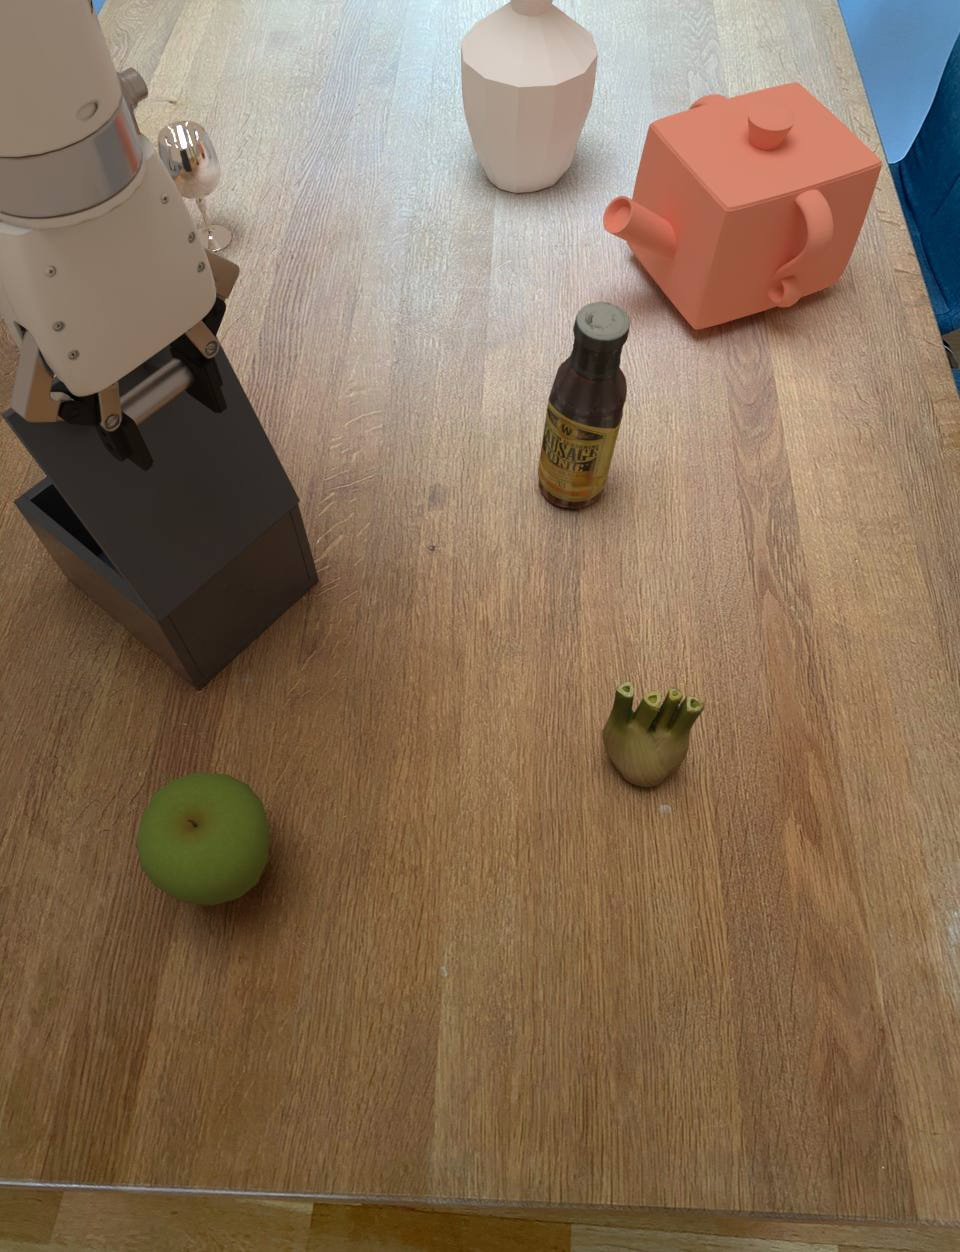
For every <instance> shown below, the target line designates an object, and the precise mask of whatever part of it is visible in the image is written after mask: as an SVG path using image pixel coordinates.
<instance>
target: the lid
mask: <svg viewBox="0 0 960 1252" xmlns="http://www.w3.org/2000/svg"><path fill="white" fill-rule="evenodd" d="M216 339H217V340H218V342H219V345H220V347H219V351H218V353H217V354H216V355H215V356H214V358H215V361H216V364H217V366H218V369H219V372H220V375H221V378H222V381H223V385H222V386H221V390H222V393H223V396H224V399H225V402H226V405H227V409H226V410H224V411H223V412H222V413H215V412H213V411H212V410H210V409H209V408H208V407H206V406H205V405H203V404H202V403H200V402H199V401H198V400H196V399H195V398H193V397H192V396H191V395H189V394H188V393H187V392H186V389H187V388H189V387H190V386H191V385H193V384H194V383H195V381H196V380H195V376H194V374H193V372H192V371H191V369H190V368H189V366H188V365H187V364H186V363H185V362H184V361H183V360H181V359H180V358H178V357H174V358H173V357H172V355H171V352H170V348H171V346H170V344H168V345H167V346H166V347H164V348H163V349H162V350H160V351H159V352H157V353H156V354H155V355H153V356H152V357H150V358H149V359H148V360H146V361H145V362H143V363H142V364H141V365H139V366H138V367H136V368H135V369H134V370H132V371H131V372H129V373H128V374H126V375H125V376H124V377H122V378H121V379H119V380H118V387H119V395H120V404H121V411H123V412H124V413H125V414H127V415H128V416H129V417H131V418H132V419H133V420H134V421H135V423H136V425H137V427H138V429H139V431H140V433H141V435H142V438H143V440H144V442H145V444H146V446H147V448H148V450H149V452H150V454H151V457H152V459H153V461H154V463H152V464H153V466H152V467H151V468H150V469H149V470H147V471H144V470H142V469H141V468H140V467H138V466H137V465H136V464H135V463H133V462H132V461H131V460H129V459H128V458H127V459H125V460H124V461H123V462H121V461H119V460H118V459H116V458H115V457H114V456H113V455H112V454H111V453H110V452H109V451H108V450H107V449H106V447H105V446H104V444H103V442H102V440H101V438H100V436H99V434H98V432H97V431H96V429H95V427H94V426H89V425H78V424H69V423H67V422H66V421H57V422H34V423H31V422H28V421H26V420H25V419H24V418H22V417H21V416H20V415H19V414H17V413H16V412H15V411H14V410H12V409H11V407H10V408H8V409H7V410H5V411H3V412H2V413H0V415H1V418H2V419H3V420H4V421H5V423H6V424H7V426H8V427H9V428H10V429H11V431H12V432H13V433H14V434H15V436H16V437H17V438H18V440H19V441H20V443H21V444H22V445H23V447H24V448H25V449H26V450H27V452H28V453H29V454H30V456H31V457H32V458H33V460H34V461H35V462H36V464H37V465H38V467H39V468H40V469H41V471H42V472H43V473H44V475H45V477H48V478H49V480H50V481H51V482H52V484H53V485H54V486H55V488H56V489H57V490H58V492H59V493H60V494H61V496H62V497H63V498H64V500H65V501H66V502H67V504H68V505H69V506H70V508H71V509H72V510H73V512H74V513H75V514H76V516H77V517H78V518H79V520H80V521H81V522H82V524H83V525H84V526H85V528H86V529H87V530H88V532H89V533H90V534H91V536H92V537H93V538H94V540H95V541H96V542H97V544H98V545H99V546H100V548H101V549H102V550H103V552H104V553H105V554H106V556H107V557H108V558H109V560H110V561H111V562H112V564H113V565H114V566H115V568H116V569H117V570H118V572H119V573H120V574H121V576H122V577H123V578H124V580H125V581H126V582H127V584H128V585H129V586H130V588H131V589H132V590H133V592H134V593H135V594H136V596H137V597H138V598H139V600H140V601H141V602H142V604H143V605H144V606H145V608H146V609H147V610H148V612H149V613H150V614H151V616H152V617H153V618H154V619H155V620H157V621H158V622H160V621H161V620H163V619H164V618H165V617H166V616H167V615H168V614H170V613H171V612H172V611H173V610H174V609H175V608H177V607H178V606H179V605H180V604H181V603H182V602H183V601H185V600H186V599H187V598H188V597H189V596H190V595H192V594H193V593H194V592H195V591H196V590H197V589H199V588H200V587H201V586H202V585H203V584H204V583H206V582H207V581H208V580H209V579H210V578H211V577H213V576H214V575H215V574H216V573H217V572H218V571H219V570H221V569H222V568H223V567H224V566H225V565H226V564H228V563H229V562H230V561H231V560H232V559H233V558H235V557H236V556H237V555H238V554H239V553H240V552H242V551H243V550H244V549H245V548H246V547H247V546H249V545H250V544H251V543H252V542H253V541H254V540H256V539H257V538H258V537H259V536H260V535H261V534H262V533H264V532H265V531H266V530H267V529H268V528H269V527H271V526H272V525H273V524H274V523H275V522H276V521H278V520H279V519H280V518H281V517H282V516H283V515H285V514H286V513H287V512H288V511H289V510H290V509H292V508H293V507H294V506H295V505H296V504H297V503H298V504H299V503H300V502H301V500H300V498H299V495H298V494H297V492H296V489H295V488H294V486H293V485H292V482H291V480H290V478H289V475H288V474H287V472H286V470H285V468H284V465H283V463H282V462H281V460H280V458H279V457H278V455H277V453H276V451H275V449H274V446H273V445H272V443H271V441H270V439H269V436H268V435H267V433H266V431H265V428H264V427H263V425H262V423H261V421H260V419H259V417H258V414H257V413H256V411H255V409H254V407H253V406H252V403H251V401H250V399H249V397H248V395H247V394H246V392H245V390H244V388H243V386H242V384H241V382H240V380H239V378H238V376H237V374H236V372H235V370H234V368H233V366H232V364H231V362H230V360H229V358H228V356H227V353H226V352H225V350H224V348H223V346H222V344H221V343H220V340H219V339H218V336H217V335H216ZM54 389H61V390H68V388H67V387H66V385H65V384H64V383H63V382H62V381H60V380H59V379H58V377H57V376H56V375H55V376H54V378H53V382H52V387H51V391H52V390H54Z"/></svg>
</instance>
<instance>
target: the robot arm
mask: <svg viewBox="0 0 960 1252" xmlns="http://www.w3.org/2000/svg"><path fill="white" fill-rule="evenodd" d="M148 97H149V88H148V85H147V83H146V81H145V80H144V78H143V76H142V75H141V74H140V72H138V70H136V69H135V68H133V67H128V68H126V69H125V70H123V71H121V72H120V71H117V69H116V66H115V64H114V61H113V58H112V55H111V52H110V49H109V46H108V43H107V41H106V37H105V35H104V32H103V28H102V25H101V23H100V20H99V17H98V14H97V11H96V8H95V5H94V3H93V0H0V315H1V317H2V319H3V321H4V324H5V326H6V327H7V328H6V329H8V332H9V333H10V336H11V338H12V339H13V341H14V344H15V345H16V347H17V348H18V350H19V351H20V354H19V358H18V363H17V368H16V374H15V378H14V381H13V382H14V383H13V388H12V392H11V397H10V402H9V404H10V405H9V406H10V408H11V409H12V410H14V411H15V412H16V413H17V414H19V415H20V416H21V417H22V418H24V419H25V420H26V421H28V422H31V423H34V422H57V421H66V422H67V423H69V424H78V425H89V426H94V427H95V429H96V431H97V432H98V434H99V436H100V438H101V440H102V442H103V444H104V446H105V447H106V449H107V450H108V451H109V452H110V453H111V454H112V455H113V456H114V457H115V458H116V459H118V460H119V461H121V462H123V461H124V460H125V459H127V458H128V459H129V460H131V461H132V462H133V463H135V464H136V465H137V466H138V467H140V468H141V469H142V470H144V471H147V470H149V469H150V468H151V467H152V466H153V464H152V463H154V461H153V459H152V457H151V454H150V452H149V450H148V448H147V446H146V444H145V442H144V440H143V438H142V435H141V433H140V431H139V429H138V427H137V425H136V423H135V421H134V420H133V419H132V418H131V417H129V416H128V415H127V414H125V413H124V412H123V411H121V404H120V395H119V387H118V380H119V379H121V378H122V377H124V376H125V375H126V374H128V373H129V372H131V371H132V370H134V369H135V368H136V367H138V366H139V365H141V364H142V363H143V362H145V361H146V360H148V359H149V358H150V357H152V356H153V355H155V354H156V353H157V352H159V351H160V350H162V349H163V348H164V347H166V346H167V345H168V344H170V346H171V348H170V352H171V355H172V357H173V358H174V357H178V358H180V359H181V360H183V361H184V362H185V363H186V364H187V365H188V366H189V368H190V369H191V371H192V372H193V374H194V376H195V380H196V381H195V383H194V384H193V385H191V386H190V387H189V388H187V389H186V392H187V393H188V394H189V395H191V396H192V397H193V398H195V399H196V400H198V401H199V402H200V403H202V404H203V405H205V406H206V407H208V408H209V409H210V410H212V411H213V412H215V413H222V412H223V411H224V410H226V409H227V405H226V402H225V399H224V396H223V393H222V390H221V386H222V385H223V381H222V378H221V375H220V372H219V369H218V366H217V364H216V361H215V358H214V356H215V355H216V354H217V353H218V351H219V347H220V345H219V342H220V341H219V342H218V340H219V339H218V340H217V339H216V336H217V335H218V333H219V329H220V328H221V325H222V322H223V319H224V316H225V314H226V312H227V311H226V310H227V303H226V299H227V300H229V298H230V295H231V293H232V291H233V289H234V287H235V284H236V283H237V280H238V278H239V275H240V272H241V269H240V266H239V265H238V264H237V263H235V262H234V261H232V260H231V259H229V258H227V257H225V255H222V254H220V253H218V252H217V251H216V252H214V251H212V250H210V249H208V248H206V247H204V246H203V244H202V241H201V239H200V237H199V234H198V232H197V230H198V228H197V227H196V224H195V222H194V220H193V217H192V215H191V213H190V211H189V209H188V206H187V204H186V202H185V201H184V197H182V196H181V194H180V192H179V190H178V188H177V186H176V184H175V183H174V181H173V179H172V177H171V175H170V173H169V172H168V170H167V168H166V166H165V165H164V163H163V161H162V159H161V158H160V156H159V152H158V151H157V149H156V148H155V146H154V145H153V144H152V142H151V140H150V139H149V138H148V137H147V136H146V135H145V134H144V133H142V132H141V130H140V128H139V125H138V121H137V119H136V116H135V109H137V108H138V106H139V103H140V102H142V101H144V100H146V99H147V98H148ZM56 376H57V377H58V379H59V380H60V381H62V382H63V383H64V384H65V385H66V387H67V388H68V390H61V389H54V390H52V391H51V387H52V382H53V378H54V377H56Z"/></svg>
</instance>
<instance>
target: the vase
mask: <svg viewBox="0 0 960 1252" xmlns="http://www.w3.org/2000/svg"><path fill="white" fill-rule="evenodd" d="M553 1H554V0H509V2H507V3H505V4H504V5H502V6H501V7H499V8H497V9H496V10H494V11H493V12H491V13H489V14H488V15H487V16H484V17H483V18H482V19H480V20H478V21H477V22H475V23H474V24H473V25H472V27H471V28H470V29H469V30H468V31H467V32H466V34H465V35H464V37H462V39H461V40H460V77H461V97H462V104H463V113H464V118H465V121H466V125H467V128H468V133H469V135H470V139H471V143H472V147H473V150H474V153H475V155H476V156H477V158H478V160H479V162H480V164H481V167H482V168H483V170H484V173H485V174H486V176H487V179H488V181H489V182H490V183H491V184H493V185H494V186H495V187H496V188H497V189H499V190H502V191H504V192H505V191H507V192H510V193H513V194H519V193H520V194H523V193H534V192H536V191H540V190H543V189H546V188H549V187H553V186H555V184H556V183H557V182H558V181H559V180H560V178H561V177H562V176H563V175H564V174H565V173H566V171H568V169H569V168H570V167H571V165H572V162H573V160H574V157H575V155H576V150H577V145H578V142H579V139H580V137H581V135H582V131H583V129H584V126H585V123H586V122H587V121H586V120H587V118H588V116H589V113H590V110H591V107H592V104H593V98H594V91H595V84H596V76H597V75H596V74H597V66H598V58H599V53H598V49H597V45H596V42H595V39H594V35H593V33H592V32H591V31H589V30H588V29H586V28H585V27H584V26H582V25H581V24H580V23H578V22H577V21H576V20H574V19H573V18H572V17H570V16H569V15H567V14H566V13H565V12H564V11H563V10H561V9H560V8H559V7H558V6H556V5H554V3H553Z"/></svg>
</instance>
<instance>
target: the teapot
mask: <svg viewBox="0 0 960 1252" xmlns="http://www.w3.org/2000/svg"><path fill="white" fill-rule="evenodd" d="M882 166H883V162H882V159H880V158H879V157H878V156H877V155H876V154H875V153H874V152H873V151H872V150H871V149H870V148H869V147H868V146H867V145H866V144H865V143H864V142H863V141H862V140H861V139H860V138H859V137H858V136H857V135H856V134H854V132H853V131H851V129H849V127H847V125H845V124H844V123H843V122H842V121H841V119H839V118H838V117H837V116H836V115H835V114H834V113H833V112H832V111H831V110H830V109H829V108H827V107H826V106H825V105H824V104H823V103H822V102H820V101H819V100H818V99H817V98H816V97H815V96H814V95H813V94H812V93H810V91H808V90H807V89H806V88H805V87H804V86H803V85H801V83H800V82H798V81H797V82H796V81H795V82H788V83H783V84H781V85H779V84H778V85H775V86H771V87H767V88H764V89H759V90H755V91H750V92H746V93H743V94H739V95H735V96H732V97H728V98H727V97H726V96H725V95H721V94H717V93H716V94H714V93H713V94H707V95H704V96H702V97H699V98H698V99H696V100H695V101H693V103H692V104H691V105H690V107H689V108H688V109H686V110H683V111H679V112H676V113H674V114H671V115H668V116H664V117H662V118H659V119H656V120H654V121H652V122H651V123H650V124H649V126H648V129H647V133H646V136H645V141H644V144H643V149H642V152H641V157H640V161H639V164H638V168H637V172H636V178H635V181H634V186H633V191H632V197H631V198H630V197H628V196H626V195H619V196H616V197H615V198H613V199H612V200H611V201H610V202H609V203H608V205H607V206H606V207H605V210H604V213H603V217H602V225H603V228H604V230H605V231H606V232H607V233H609V234H611V235H613V236H614V237H617V238H620V239H621V240H623V241H626V244H627V246H628V248H629V249H630V251H631V252H632V253H633V254H634V256H635V257H636V259H637V260H638V261H639V262H640V264H641V265H642V267H643V268H644V269H645V270H646V272H647V273H648V274H649V276H650V277H651V278H652V279H653V281H654V282H655V283H656V284H657V285H658V287H659V288H660V289H661V290H662V292H663V294H665V296H666V297H667V298H668V299H669V301H670V302H671V303H672V304H673V306H674V307H675V308H676V310H678V312H679V313H680V314H681V316H682V317H683V318H684V319H685V320H686V321H687V323H688V324H689V325H690V326H691V327H692V329H693V330H703V329H707V328H710V327H714V326H719V325H720V326H721V325H723V324H726V323H728V322H731V321H735V320H738V319H741V318H744V317H748V316H752V315H754V314H757V313H761V312H764V311H767V310H771V309H773V308H776V307H779V308H789V307H792V306H793V305H795V304H797V302H798V301H799V300H800V299H801V298H804V297H806V296H807V297H808V296H809V295H812V294H815V293H817V292H820V291H822V290H825V289H828V288H830V287H832V286H834V285H835V284H837V283H838V282H839V281H840V279H841V278H842V276H843V273H844V271H845V270H846V268H847V266H848V264H849V262H850V259H851V258H852V254H853V253H854V251H855V247H856V244H857V242H858V239H859V236H860V234H861V231H862V228H863V225H864V222H865V220H866V217H867V214H868V211H869V207H870V204H871V202H872V199H873V196H874V192H875V189H876V186H877V183H878V180H879V177H880V174H881V170H882V168H883V167H882Z"/></svg>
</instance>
